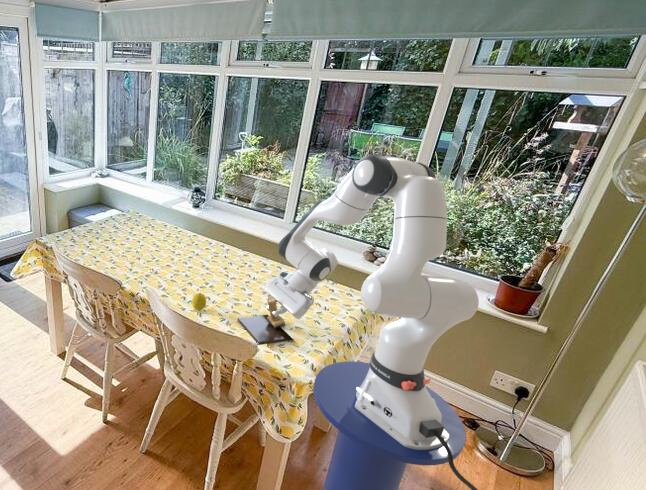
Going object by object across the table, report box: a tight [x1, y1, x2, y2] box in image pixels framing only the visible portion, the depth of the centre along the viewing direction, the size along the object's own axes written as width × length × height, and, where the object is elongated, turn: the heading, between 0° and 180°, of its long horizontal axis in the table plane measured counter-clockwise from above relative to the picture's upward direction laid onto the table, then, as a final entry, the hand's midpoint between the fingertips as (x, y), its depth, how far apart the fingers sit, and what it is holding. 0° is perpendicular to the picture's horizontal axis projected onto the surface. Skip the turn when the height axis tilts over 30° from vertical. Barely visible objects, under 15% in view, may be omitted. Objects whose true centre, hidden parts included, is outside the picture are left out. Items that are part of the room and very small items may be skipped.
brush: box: [266, 296, 286, 330], centre depth 150 cm, size 5×4×12 cm
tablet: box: [237, 314, 295, 346], centre depth 153 cm, size 16×20×1 cm
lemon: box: [191, 292, 207, 311], centre depth 162 cm, size 6×6×8 cm
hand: (270, 312), depth 150 cm, fingers closed on brush, 3 cm apart
